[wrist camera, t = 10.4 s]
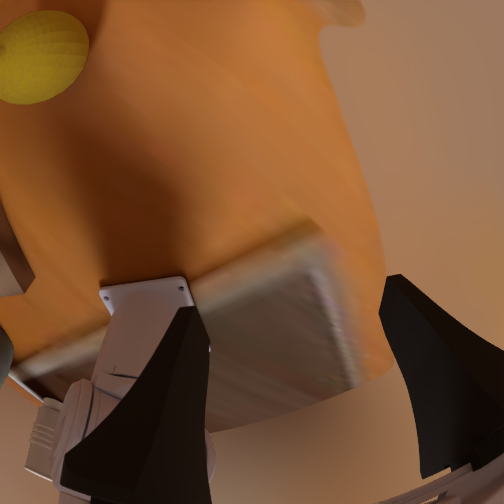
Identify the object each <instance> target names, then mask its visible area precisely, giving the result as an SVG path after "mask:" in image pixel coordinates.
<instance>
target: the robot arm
mask: <svg viewBox="0 0 504 504" xmlns="http://www.w3.org/2000/svg"><path fill="white" fill-rule="evenodd" d="M180 286H182V287H184V288H180ZM99 295H100V296H101V298H102V300H103V302H104V304H105V305H106V307H107V309H108V311H109V312H110V314H111V316H112V317H111V320H110V323H109V326H108V329H107V331H106V334H105V337H104V340H103V343H102V346H101V349H100V352H99V356H98V359H97V362H96V365H95V369H94V372H93V375H92V379H91V381H88V380H86V379H81V380H80V381H78V382H75V383H73V384H72V385H71V386H70V388H69V390H68V392H67V394H66V397H65V399H64V402H63V405H62V407H61V410H60V413H59V417H58V420H57V424H56V428H55V432H54V437H53V444H52V450H51V454H50V463H49V470H50V475H51V477H52V481H53V484H54V486H55V488H56V489H57V490H58V492H59V493H60V495H59V504H212V501H211V495H210V488H209V483H210V481H211V479H212V477H213V474H214V470H215V464H216V454H215V449H214V444H213V441H212V438H211V436H210V434H209V432H208V431H207V430H206V429H205V406H206V395H207V385H208V374H209V352H210V351H211V347H210V344H209V338H208V336H207V334H206V331H205V329H204V326H203V324H202V321H201V319H200V316H199V314H198V311H197V309H196V306H195V305H194V302H193V299H192V296H191V294H190V291H189V288H188V285H187V282H186V280H185V278H183V277H181V276H176V277H170V278H163V279H156V280H149V281H142V282H135V283H128V284H121V285H114V286H107V287H101V288H100V290H99ZM106 296H107V297H108V298H107V297H106ZM379 316H380V320H381V323H382V326H383V329H384V332H385V336H386V338H387V340H388V342H389V345H390V347H391V349H392V352H393V354H394V356H395V359H396V361H397V363H398V365H399V368H400V370H401V373H402V375H403V377H404V380H405V383H406V385H407V389H408V392H409V396H410V400H411V404H412V408H413V413H414V418H415V423H416V429H417V436H418V444H419V455H420V473H421V476H422V479H425V478H427V477H429V476H432V475H434V474H436V473H438V472H440V471H442V470H444V469H446V468H448V467H450V468H451V473H449V474H447V475H445V476H443V477H441V478H439V479H437V480H434V481H432V482H430V483H428V484H426V485H423V486H421V487H419V488H416V489H414V490H411V491H409V492H406V493H404V494H401V495H399V496H396V497H393V498H390V499H387V500H384V501H381V502H378V503H374V504H420V503H422V502H424V501H427V500H429V499H431V498H433V497H435V496H437V495H439V496H438V499H437V500H434V501H431V502H428V503H425V504H504V351H503V350H501V349H500V348H498V347H496V346H494V345H493V344H491V343H489V342H487V341H486V340H484V339H483V338H481V337H480V336H478V335H477V334H475V333H474V332H472V331H471V330H469V329H468V328H467V327H465V326H464V325H462V324H461V323H460V322H459V321H457V320H456V319H455V318H453V317H452V316H451V315H449V314H448V313H447V312H446V311H444V310H443V309H442V308H441V307H440V306H438V305H437V304H436V303H434V301H432V300H431V299H430V298H429V297H428V296H426V295H425V294H424V293H423V292H422V291H421V290H419V289H418V288H417V287H416V286H415V285H413V284H412V283H411V282H410V281H409V280H408V279H406V278H405V277H404V276H403V275H401V274H397V275H392V276H387V278H386V283H385V287H384V292H383V296H382V301H381V305H380V309H379Z"/></svg>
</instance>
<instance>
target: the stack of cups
mask: <svg viewBox="0 0 504 504" xmlns="http://www.w3.org/2000/svg"><path fill="white" fill-rule="evenodd" d="M62 405H63V403H61V402H59V401H57V400H54V399H52V398H44V406H39V408H38V413H37V418H36V422H34V427H33V428H32V431H33V433H31V437H32V438H30V439H29V442H30V447H29V451H28V455H27V460H26V465H24V468H25V469H26V470H28V471H30V472H32V473H34V474H36V475H38V476H40V477H42V478H45V479H47V480H49V481H52V477H51V475H50V470H49V463H50V454H51V450H52V444H53V437H54V432H55V428H56V424H57V420H58V417H59V413H60V410H61V407H62ZM52 482H53V481H52Z"/></svg>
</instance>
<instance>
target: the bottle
mask: <svg viewBox="0 0 504 504" xmlns="http://www.w3.org/2000/svg"><path fill="white" fill-rule="evenodd" d="M13 352H14V347H13V344H12V342H11V340H10V339H9V337H8V336H7V335H6V333H5V332H4V331H3V330H2V329H1V328H0V388H1V386H2V384H3V383H4V381H5V379H6V377H7V376H8V373H9V369H10V366H11V363H12V358H13Z"/></svg>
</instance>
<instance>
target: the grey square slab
mask: <svg viewBox="0 0 504 504" xmlns="http://www.w3.org/2000/svg"><path fill="white" fill-rule="evenodd" d="M34 279H35V275H34V273H33V271H32V270H31V268H30V266H29V264H28V262H27V260H26V258H25V256H24V254H23V252H22V250H21V248H20V246H19V244H18V242H17V240H16V237H15V235H14V233H13V231H12V229H11V226H10V224H9V222H8V219H7V217H6V214H5V212H4V209H3V207H2V204H1V201H0V297H4V296H12V295H20V294H25V292H26V291H27V289H28V288H29V286H30V285H31V283H32V282H33V280H34Z"/></svg>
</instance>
